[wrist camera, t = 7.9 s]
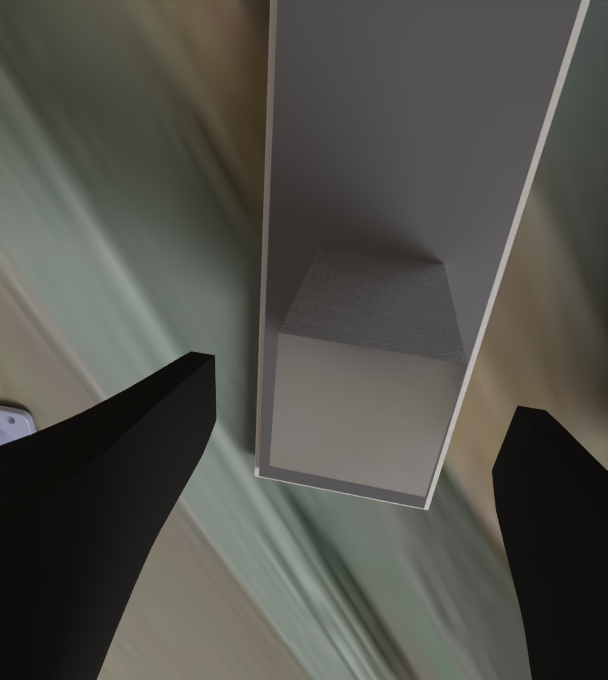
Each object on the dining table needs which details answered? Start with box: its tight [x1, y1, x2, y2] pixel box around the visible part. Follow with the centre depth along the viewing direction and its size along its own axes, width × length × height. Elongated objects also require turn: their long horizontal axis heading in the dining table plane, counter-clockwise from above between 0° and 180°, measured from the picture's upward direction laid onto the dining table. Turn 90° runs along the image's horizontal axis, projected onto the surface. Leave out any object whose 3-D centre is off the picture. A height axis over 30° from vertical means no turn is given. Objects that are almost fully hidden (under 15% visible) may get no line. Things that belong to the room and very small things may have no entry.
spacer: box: [270, 246, 467, 497], centre depth 13 cm, size 4×4×6 cm
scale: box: [255, 0, 590, 510], centre depth 15 cm, size 8×23×3 cm, turn 176°
